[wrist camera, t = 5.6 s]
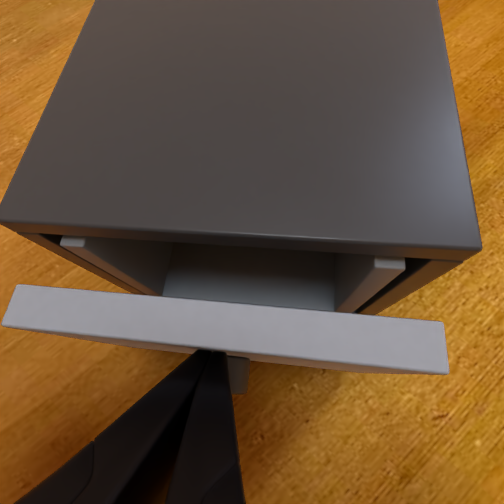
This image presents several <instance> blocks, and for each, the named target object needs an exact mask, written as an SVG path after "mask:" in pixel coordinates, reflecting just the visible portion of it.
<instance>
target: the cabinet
mask: <svg viewBox="0 0 504 504" xmlns="http://www.w3.org/2000/svg"><path fill="white" fill-rule="evenodd" d="M0 224H1V225H3V226H5V227H7V228H9V229H11V230H12V231H14V232H16V233H18V234H19V235H21V236H23V237H25V238H27V239H29V240H31V241H33V242H35V243H37V244H39V245H40V246H42V247H44V248H46V249H48V250H50V251H52V252H54V253H56V254H58V255H60V256H62V257H63V258H65V259H67V260H69V261H71V262H73V263H75V264H77V265H79V266H81V267H83V268H85V269H86V270H88V271H90V272H92V273H94V274H96V275H98V276H100V277H102V278H104V279H106V280H108V281H109V282H111V283H113V284H115V285H117V286H119V287H121V288H123V289H125V290H127V291H129V292H131V293H132V294H138V295H147V294H145V293H143V292H141V291H140V290H138V289H136V288H134V287H132V286H131V285H129V284H127V283H125V282H124V281H122V280H120V279H118V278H117V277H115V276H113V275H111V274H110V273H108V272H106V271H104V270H103V269H101V268H99V267H97V266H96V265H94V264H92V263H90V262H89V261H87V260H85V259H83V258H82V257H80V256H78V255H76V254H74V253H73V252H71V251H69V250H67V249H66V248H64V247H62V246H60V242H61V240H62V237H63V235H74V236H89V237H104V238H120V239H135V240H150V241H166V242H181V243H196V244H212V245H227V246H242V247H258V248H273V249H288V250H304V251H319V252H334V253H349V254H365V255H380V256H395V257H404V258H405V270H404V271H403V272H401V273H400V274H399V275H398V276H396V277H395V278H394V279H393V280H392V281H390V282H389V283H388V284H387V285H385V286H384V287H383V288H382V289H381V290H379V291H378V292H377V293H376V294H374V295H373V296H372V297H371V298H370V299H368V300H367V301H366V302H365V303H363V304H362V305H361V306H360V307H359V308H357V309H356V310H355V311H354V312H352V313H351V314H363V315H376V314H377V313H379V312H381V311H382V310H384V309H386V308H388V307H389V306H391V305H393V304H394V303H396V302H398V301H399V300H401V299H403V298H404V297H406V296H408V295H409V294H411V293H413V292H414V291H416V290H418V289H419V288H421V287H423V286H425V285H426V284H428V283H430V282H431V281H433V280H435V279H436V278H438V277H440V276H441V275H443V274H445V273H446V272H448V271H450V270H451V269H453V268H455V267H456V266H458V265H460V264H462V263H463V261H465V260H467V259H469V258H470V257H472V256H474V255H475V254H477V253H479V252H480V251H481V250H482V242H481V236H480V231H479V225H478V220H477V214H476V209H475V203H474V198H473V192H472V187H471V181H470V176H469V170H468V165H467V159H466V154H465V148H464V143H463V137H462V132H461V126H460V121H459V115H458V110H457V104H456V99H455V93H454V88H453V82H452V77H451V71H450V66H449V61H448V55H447V50H446V44H445V39H444V33H443V28H442V22H441V17H440V11H439V6H438V0H95V2H94V4H93V6H92V8H91V11H90V13H89V15H88V17H87V19H86V21H85V23H84V26H83V28H82V30H81V32H80V34H79V36H78V38H77V41H76V43H75V45H74V47H73V49H72V51H71V53H70V56H69V58H68V60H67V62H66V64H65V66H64V68H63V71H62V73H61V75H60V77H59V79H58V81H57V84H56V86H55V88H54V90H53V92H52V94H51V96H50V99H49V101H48V103H47V105H46V107H45V109H44V111H43V114H42V116H41V118H40V120H39V122H38V124H37V126H36V129H35V131H34V133H33V135H32V137H31V139H30V141H29V144H28V146H27V148H26V150H25V152H24V154H23V156H22V159H21V161H20V163H19V165H18V167H17V169H16V171H15V174H14V176H13V178H12V180H11V182H10V184H9V186H8V189H7V191H6V193H5V195H4V197H3V199H2V201H1V204H0Z"/></svg>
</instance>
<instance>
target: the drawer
mask: <svg viewBox="0 0 504 504" xmlns="http://www.w3.org/2000/svg"><path fill="white" fill-rule="evenodd" d="M60 246H62V247H64V248H66V249H67V250H69V251H71V252H73V253H74V254H76V255H78V256H80V257H82V258H83V259H85V260H87V261H89V262H90V263H92V264H94V265H96V266H97V267H99V268H101V269H103V270H104V271H106V272H108V273H110V274H111V275H113V276H115V277H117V278H118V279H120V280H122V281H124V282H125V283H127V284H129V285H131V286H132V287H134V288H136V289H138V290H140V291H141V292H143V293H145V294H147V295H138V294H126V293H115V292H104V291H93V290H81V289H70V288H59V287H48V286H36V285H25V284H18V285H17V286H16V288H15V290H14V293H13V295H12V298H11V300H10V303H9V305H8V308H7V310H6V313H5V315H4V318H3V320H2V323H1V325H2V326H3V327H8V328H15V329H21V330H27V331H33V332H40V333H46V334H52V335H59V336H65V337H71V338H77V339H84V340H90V341H96V342H102V343H109V344H115V345H121V346H128V347H135V348H143V349H152V350H161V351H170V352H179V353H188V354H193V353H194V352H195V351H196V350H198V349H200V350H209V351H212V352H213V351H218V352H226V353H227V360H228V368H229V376H230V384H231V393H232V394H246V393H247V390H248V380H249V370H250V360H251V361H260V362H269V363H278V364H287V365H296V366H305V367H314V368H322V369H331V370H340V371H349V372H358V373H387V374H428V375H447V374H449V364H448V356H447V348H446V339H445V331H444V324H443V323H442V322H440V321H430V320H419V319H408V318H396V317H385V316H374V315H363V314H351V313H352V312H354V311H355V310H356V309H357V308H359V307H360V306H361V305H362V304H363V303H365V302H366V301H367V300H368V299H370V298H371V297H372V296H373V295H374V294H376V293H377V292H378V291H379V290H381V289H382V288H383V287H384V286H385V285H387V284H388V283H389V282H390V281H392V280H393V279H394V278H395V277H396V276H398V275H399V274H400V273H401V272H403V271H404V270H405V258H404V257H395V256H380V255H365V254H349V253H334V252H319V251H304V250H288V249H273V248H258V247H242V246H227V245H212V244H196V243H181V242H166V241H150V240H135V239H120V238H104V237H89V236H74V235H63V237H62V240H61V242H60Z"/></svg>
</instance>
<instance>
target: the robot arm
mask: <svg viewBox="0 0 504 504" xmlns="http://www.w3.org/2000/svg"><path fill="white" fill-rule="evenodd" d="M14 504H246V501H245V495H244V488H243V482H242V474H241V466H240V459H239V450H238V442H237V434H236V426H235V417H234V409H233V401H232V393H231V384H230V376H229V368H228V360H227V353H226V352H218V351H213V352H212V351H209V350H200V349H198V350H196V351H195V352H194V353H193V354H192V355H191V356H189V357H188V358H187V359H186V360H185V361H184V362H182V363H181V364H180V365H179V366H178V367H177V368H175V369H174V370H173V371H172V372H171V373H170V374H169V375H167V376H166V377H165V378H164V379H163V380H162V381H160V382H159V383H158V384H157V385H156V386H155V387H154V388H152V389H151V390H150V391H149V392H148V393H147V394H145V395H144V396H143V397H142V398H141V399H140V400H138V401H137V402H136V403H135V404H134V405H133V406H132V407H130V408H129V409H128V410H127V411H126V412H125V413H123V414H122V415H121V416H120V417H119V418H118V419H116V420H115V421H114V422H113V423H112V424H111V425H110V426H108V427H107V428H106V429H105V430H104V431H103V432H101V433H100V434H99V435H98V436H97V437H96V438H95V439H94V441H91V442H90V443H89V444H87V445H86V446H85V447H84V448H83V449H82V450H80V451H79V452H78V453H77V454H76V455H75V456H73V457H72V458H71V459H70V460H68V461H67V462H66V463H65V464H64V465H62V466H61V467H60V468H59V469H58V470H56V471H55V472H54V473H53V474H52V475H50V476H49V477H48V478H46V479H45V480H44V481H42V482H41V483H40V484H39V485H37V486H36V487H35V488H33V489H32V490H31V491H30V492H28V493H27V494H26V495H24V496H23V497H22V498H20V499H19V500H18V501H16V502H15V503H14Z"/></svg>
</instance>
